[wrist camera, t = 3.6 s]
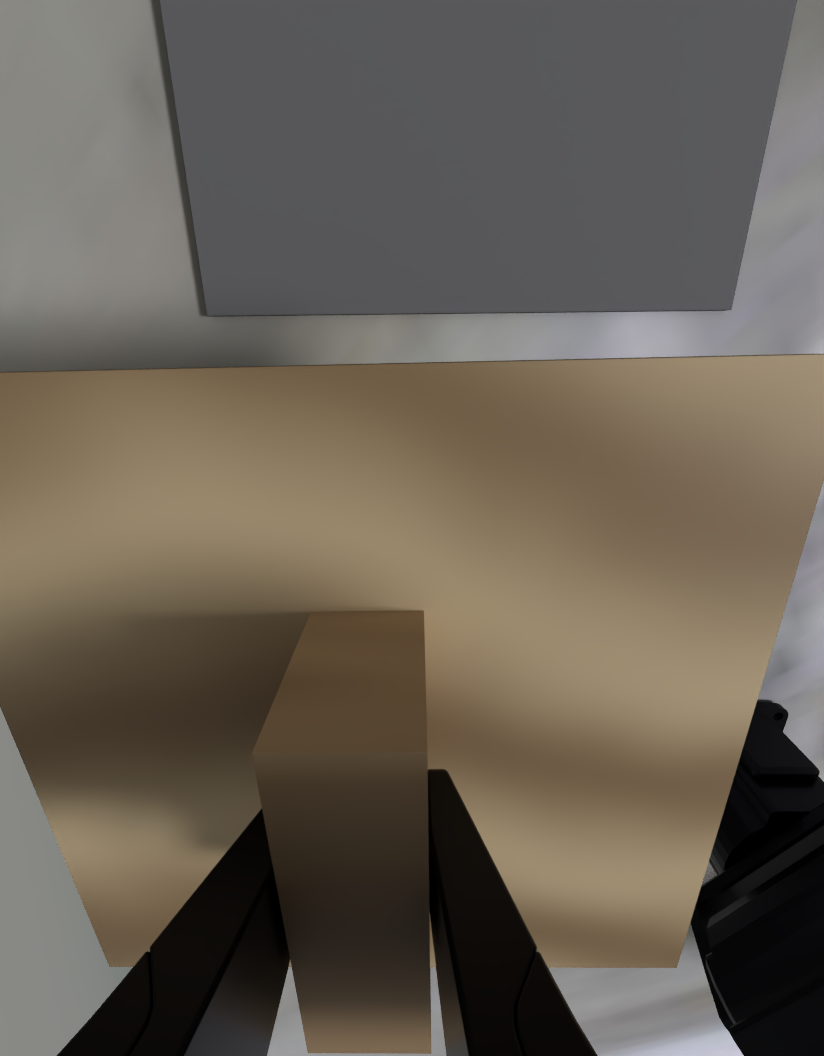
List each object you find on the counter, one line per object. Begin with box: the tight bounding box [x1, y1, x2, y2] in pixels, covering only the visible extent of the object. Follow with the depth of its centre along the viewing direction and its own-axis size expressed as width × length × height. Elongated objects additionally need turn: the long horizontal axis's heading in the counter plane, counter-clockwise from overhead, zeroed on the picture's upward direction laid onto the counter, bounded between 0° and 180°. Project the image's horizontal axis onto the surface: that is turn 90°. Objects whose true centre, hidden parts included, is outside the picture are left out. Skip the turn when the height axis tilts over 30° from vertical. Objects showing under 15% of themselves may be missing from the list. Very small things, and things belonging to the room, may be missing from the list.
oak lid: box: [0, 354, 824, 1054], centre depth 9 cm, size 16×16×4 cm
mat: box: [160, 0, 797, 316], centre depth 15 cm, size 18×20×1 cm
